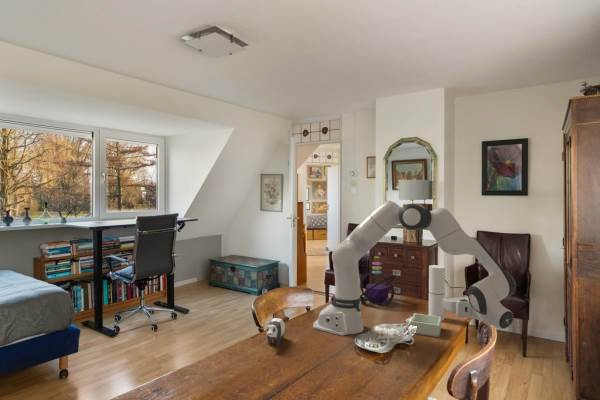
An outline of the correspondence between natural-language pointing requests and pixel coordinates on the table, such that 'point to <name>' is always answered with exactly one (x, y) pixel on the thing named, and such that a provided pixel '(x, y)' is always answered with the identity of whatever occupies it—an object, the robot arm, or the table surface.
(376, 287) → the decorative bottle
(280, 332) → the giant panda
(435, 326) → the box
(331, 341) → the table surface
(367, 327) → the table surface
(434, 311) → the cylindrical container
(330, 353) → the table surface
